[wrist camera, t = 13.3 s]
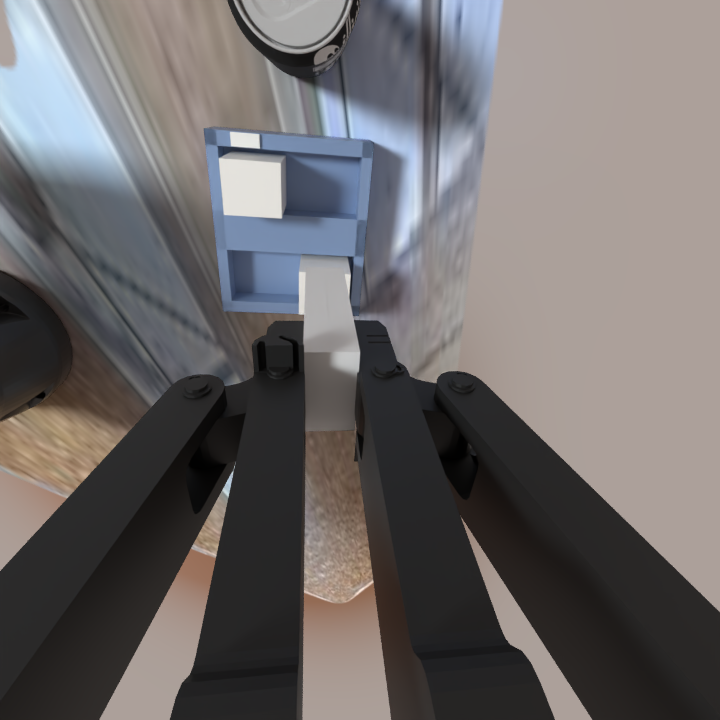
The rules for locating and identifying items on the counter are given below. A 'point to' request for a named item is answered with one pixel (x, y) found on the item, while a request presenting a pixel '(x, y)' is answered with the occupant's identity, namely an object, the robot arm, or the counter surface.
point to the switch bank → (291, 217)
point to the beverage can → (297, 31)
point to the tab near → (253, 184)
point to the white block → (320, 261)
